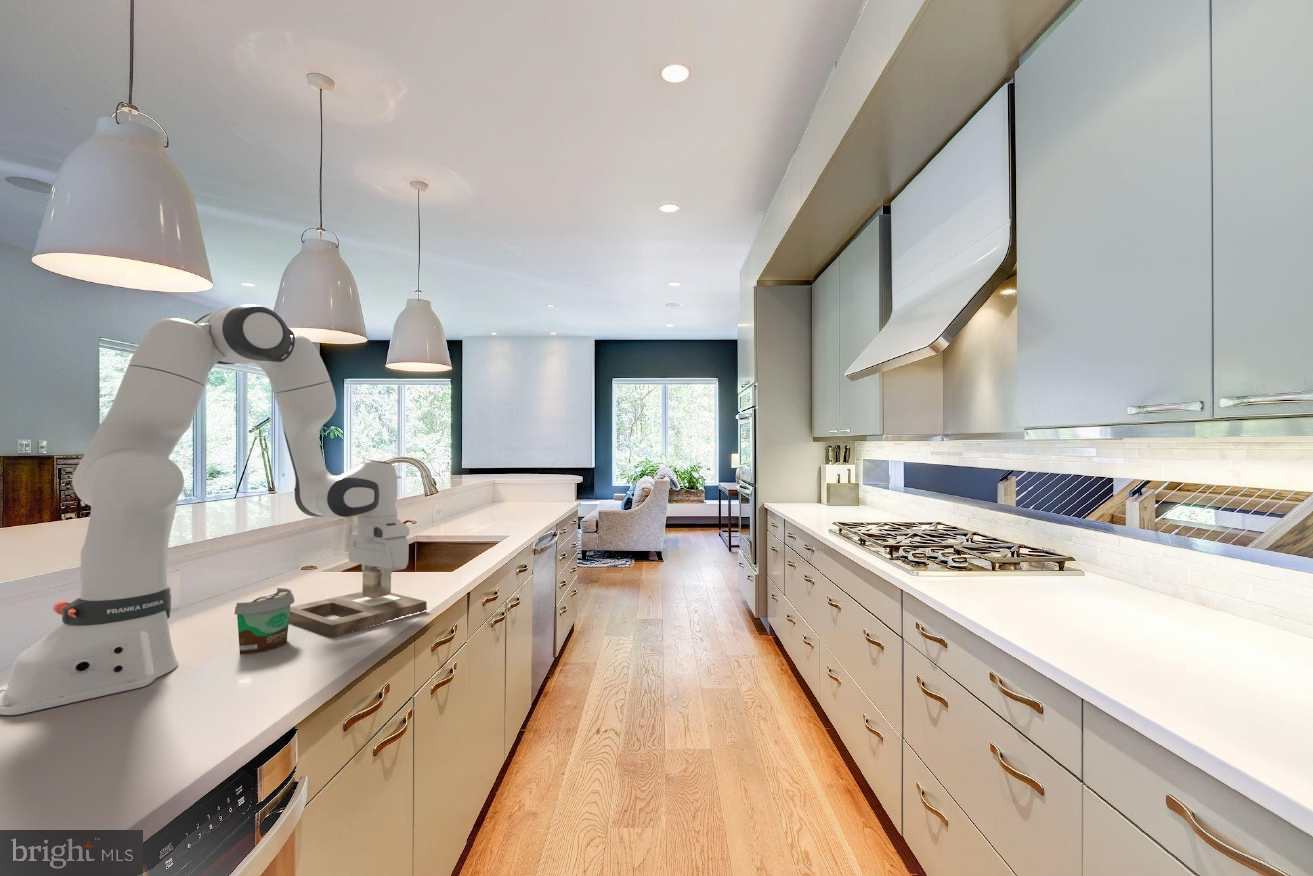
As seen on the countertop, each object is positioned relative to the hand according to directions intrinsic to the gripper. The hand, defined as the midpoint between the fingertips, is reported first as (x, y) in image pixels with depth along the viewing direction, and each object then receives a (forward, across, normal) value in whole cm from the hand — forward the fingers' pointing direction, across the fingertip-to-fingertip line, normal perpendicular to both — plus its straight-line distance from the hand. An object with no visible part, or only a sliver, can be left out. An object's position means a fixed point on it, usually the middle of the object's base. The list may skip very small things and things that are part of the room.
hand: (376, 584), depth 137 cm
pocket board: (+6, 0, -5) cm, 8 cm away
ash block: (+3, 0, 0) cm, 3 cm away
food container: (+7, +6, -25) cm, 26 cm away
